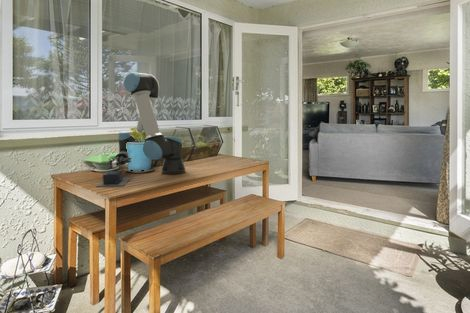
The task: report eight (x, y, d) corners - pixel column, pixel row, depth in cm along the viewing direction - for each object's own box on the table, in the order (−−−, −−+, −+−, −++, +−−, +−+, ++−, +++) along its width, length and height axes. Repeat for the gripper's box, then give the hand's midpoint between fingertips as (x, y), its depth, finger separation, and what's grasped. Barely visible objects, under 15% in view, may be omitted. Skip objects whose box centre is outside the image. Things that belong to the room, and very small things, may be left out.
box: (122, 170, 178) (118, 174, 168) (122, 179, 179) (118, 184, 169) (108, 170, 177) (102, 174, 167) (108, 180, 178) (103, 184, 168)
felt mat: (131, 178, 186) (130, 177, 186) (124, 186, 167) (124, 185, 167) (106, 178, 184) (106, 177, 184) (96, 187, 165) (96, 186, 165)
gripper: (133, 163, 198) (126, 171, 175) (111, 164, 196) (101, 171, 173) (133, 152, 197) (125, 158, 174) (111, 152, 195) (100, 158, 172)
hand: (113, 164), depth 173 cm, fingers closed
